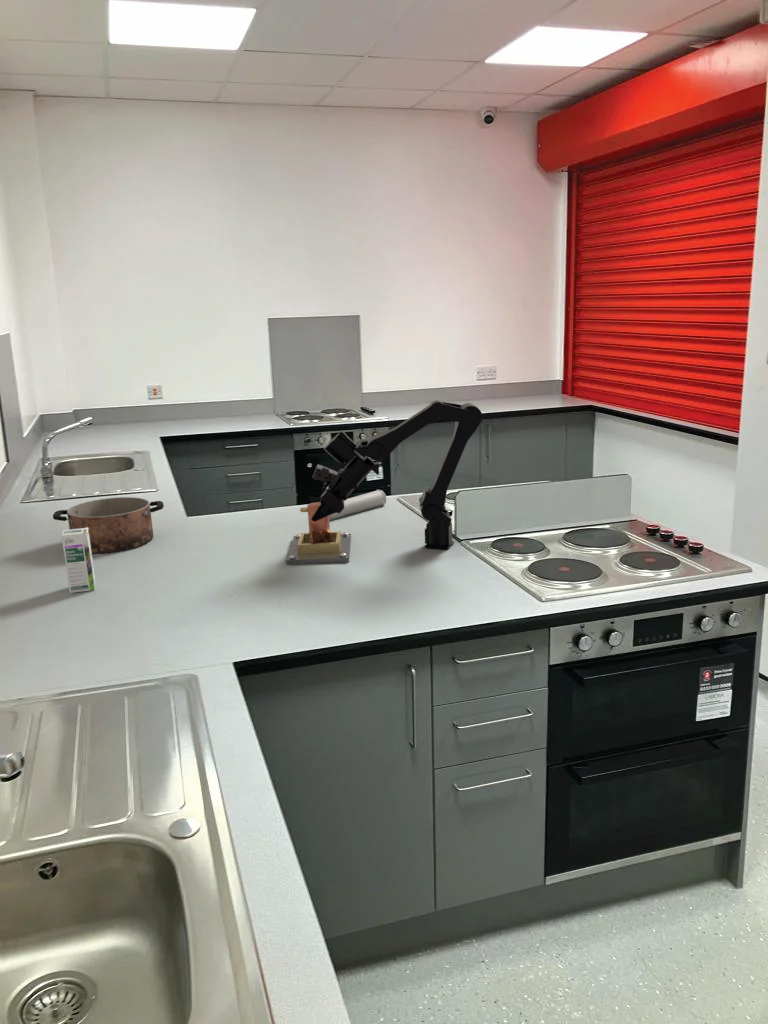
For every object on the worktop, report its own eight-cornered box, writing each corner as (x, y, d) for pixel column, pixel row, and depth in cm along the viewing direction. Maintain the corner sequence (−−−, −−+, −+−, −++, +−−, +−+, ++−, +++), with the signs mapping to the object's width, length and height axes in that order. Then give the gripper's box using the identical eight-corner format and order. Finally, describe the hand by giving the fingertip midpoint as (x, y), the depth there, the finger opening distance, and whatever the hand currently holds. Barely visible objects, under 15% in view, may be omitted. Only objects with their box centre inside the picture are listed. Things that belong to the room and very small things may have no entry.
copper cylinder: (330, 537, 222) (328, 501, 220) (329, 543, 217) (327, 506, 214) (303, 538, 222) (300, 503, 220) (301, 544, 217) (298, 508, 214)
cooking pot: (53, 560, 222) (47, 522, 219) (62, 538, 242) (57, 502, 240) (167, 547, 229) (163, 510, 226) (166, 527, 250) (163, 493, 247)
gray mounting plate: (351, 537, 231) (350, 525, 230) (349, 562, 210) (348, 549, 209) (294, 539, 231) (293, 527, 230) (286, 564, 210) (285, 551, 209)
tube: (328, 510, 246) (387, 494, 263) (317, 502, 249) (376, 486, 266) (326, 526, 248) (384, 508, 265) (315, 518, 251) (373, 501, 268)
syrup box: (69, 593, 195) (60, 535, 191) (71, 585, 200) (63, 528, 196) (94, 590, 196) (86, 532, 192) (96, 583, 201) (88, 526, 198)
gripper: (331, 448, 223) (293, 489, 225) (327, 461, 205) (286, 506, 207) (361, 475, 225) (324, 515, 227) (360, 490, 207) (319, 534, 209)
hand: (313, 517), depth 218 cm, fingers closed on copper cylinder, 5 cm apart
